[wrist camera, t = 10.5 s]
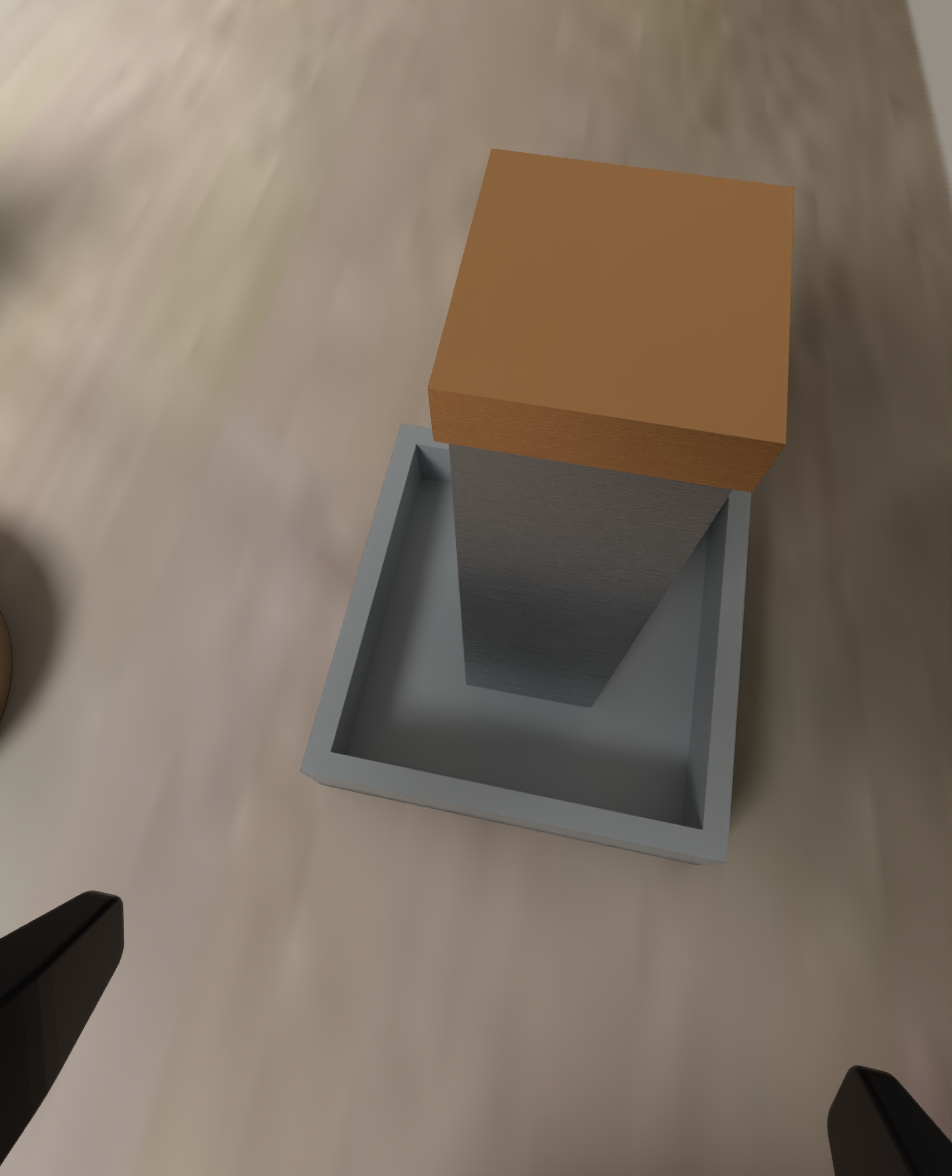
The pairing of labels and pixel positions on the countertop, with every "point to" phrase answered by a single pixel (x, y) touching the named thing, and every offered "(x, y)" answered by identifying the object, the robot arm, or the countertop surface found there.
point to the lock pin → (602, 401)
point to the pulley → (4, 664)
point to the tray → (525, 724)
